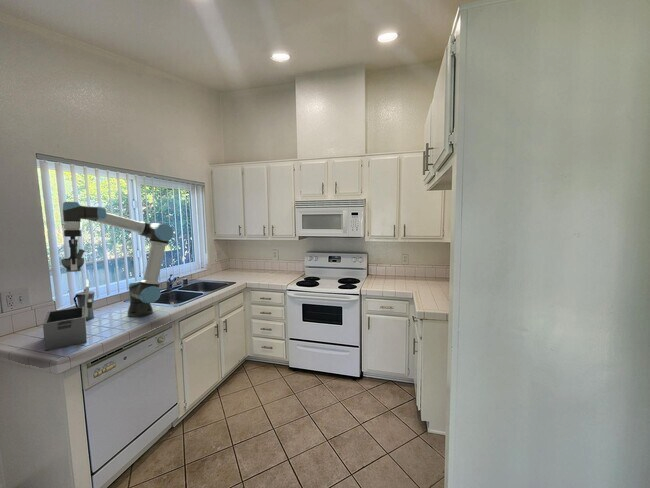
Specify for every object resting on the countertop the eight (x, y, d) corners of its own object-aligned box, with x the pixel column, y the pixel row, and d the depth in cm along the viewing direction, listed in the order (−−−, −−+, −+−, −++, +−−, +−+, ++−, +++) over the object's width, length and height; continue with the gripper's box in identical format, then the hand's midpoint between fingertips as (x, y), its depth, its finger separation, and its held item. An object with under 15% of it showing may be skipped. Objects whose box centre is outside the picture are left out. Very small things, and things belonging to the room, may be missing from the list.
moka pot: (101, 315, 206) (99, 286, 204) (84, 322, 190) (82, 292, 188) (87, 315, 205) (85, 286, 204) (68, 323, 190) (66, 292, 188)
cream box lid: (84, 306, 179) (90, 305, 180) (84, 321, 153) (91, 320, 154) (85, 279, 178) (91, 278, 180) (86, 289, 152) (92, 289, 154)
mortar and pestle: (70, 272, 162) (69, 251, 161) (57, 271, 164) (56, 250, 163) (91, 269, 173) (90, 249, 172) (79, 268, 175) (78, 248, 174)
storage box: (86, 328, 180) (84, 306, 179) (86, 345, 156) (84, 319, 155) (49, 335, 170) (47, 311, 168) (44, 354, 146) (41, 327, 145)
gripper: (65, 229, 173) (67, 267, 174) (62, 230, 155) (64, 272, 157) (81, 229, 177) (83, 266, 179) (80, 230, 160) (82, 271, 162)
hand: (74, 269), depth 168 cm, fingers closed on mortar and pestle, 9 cm apart
